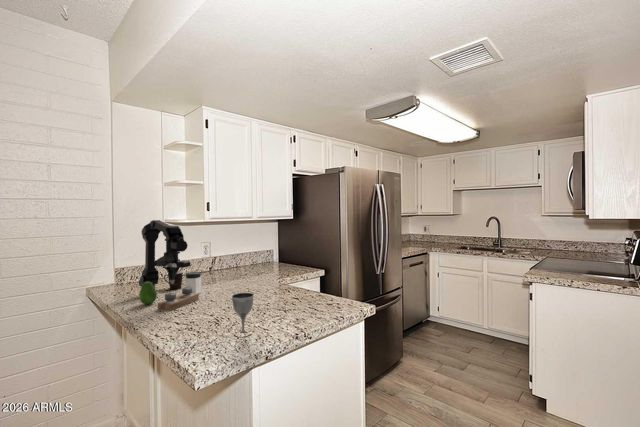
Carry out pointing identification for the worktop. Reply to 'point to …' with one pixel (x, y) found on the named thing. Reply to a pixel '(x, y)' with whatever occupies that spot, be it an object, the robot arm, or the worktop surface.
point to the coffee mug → (175, 281)
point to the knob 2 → (187, 291)
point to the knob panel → (177, 302)
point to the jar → (193, 282)
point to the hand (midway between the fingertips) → (172, 279)
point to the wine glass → (242, 305)
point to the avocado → (148, 293)
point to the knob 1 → (170, 296)
